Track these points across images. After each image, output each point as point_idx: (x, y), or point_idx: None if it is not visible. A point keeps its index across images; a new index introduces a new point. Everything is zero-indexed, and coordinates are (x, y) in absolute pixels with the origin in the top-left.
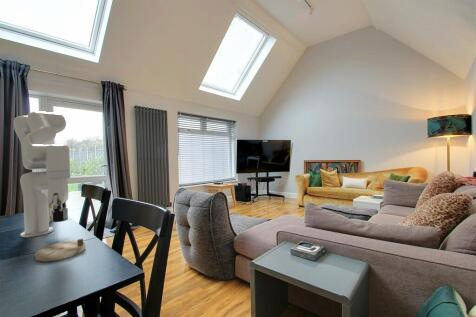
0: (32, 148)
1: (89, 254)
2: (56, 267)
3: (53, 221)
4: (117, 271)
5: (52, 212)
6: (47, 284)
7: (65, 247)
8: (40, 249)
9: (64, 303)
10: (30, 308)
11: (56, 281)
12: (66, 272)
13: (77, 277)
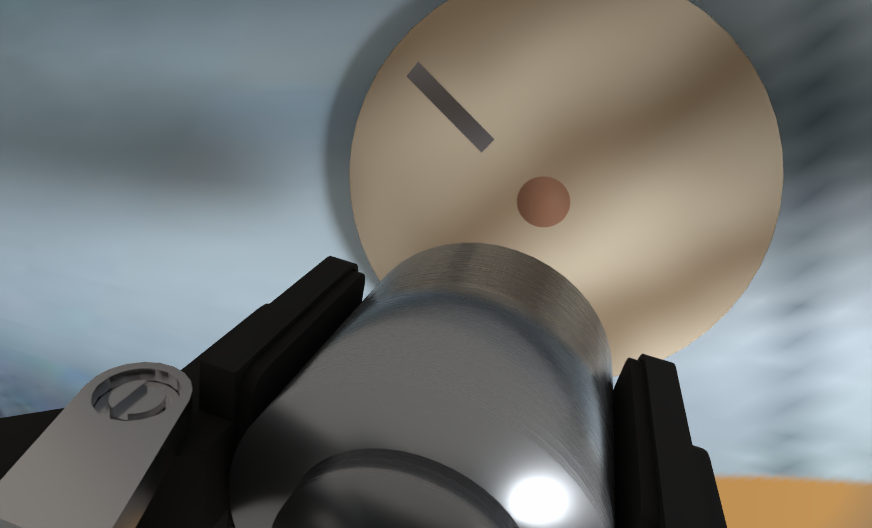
0: None
1: None
2: (255, 139)
3: (329, 260)
4: (58, 382)
5: (357, 352)
6: (44, 88)
7: (541, 235)
8: (693, 7)
9: None
10: None
11: (60, 132)
12: (148, 188)
13: (65, 229)
